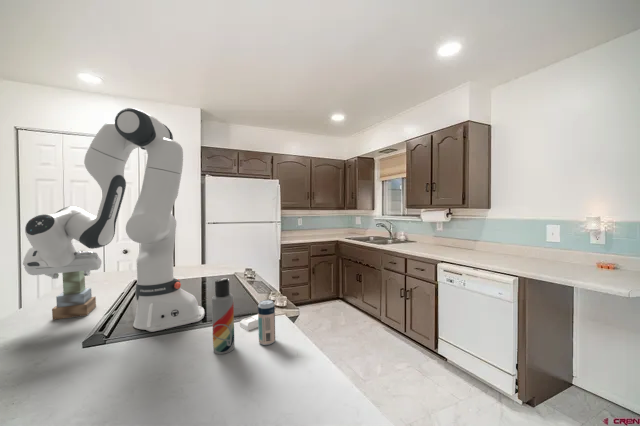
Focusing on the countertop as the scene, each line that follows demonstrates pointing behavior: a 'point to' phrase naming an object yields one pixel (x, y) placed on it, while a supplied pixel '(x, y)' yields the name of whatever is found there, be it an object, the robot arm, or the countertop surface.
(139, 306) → the robot arm
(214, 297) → the lotion bottle
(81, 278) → the green brick
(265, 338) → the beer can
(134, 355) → the countertop surface
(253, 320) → the soap bar
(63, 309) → the pedestal
